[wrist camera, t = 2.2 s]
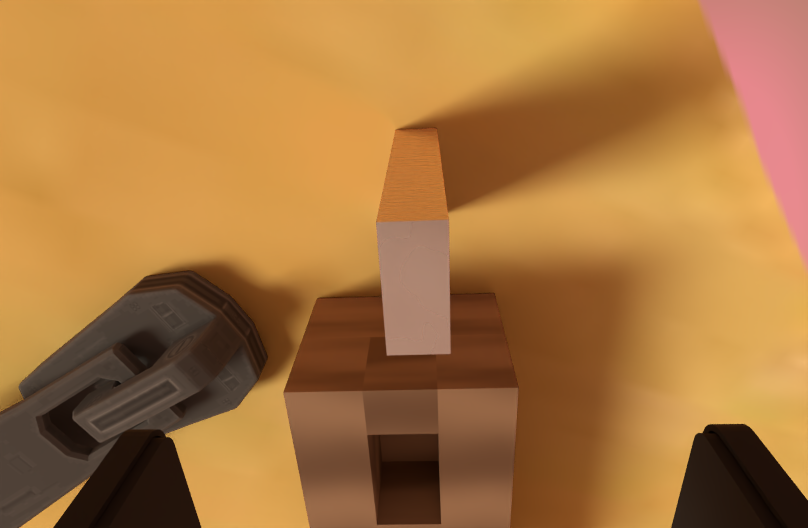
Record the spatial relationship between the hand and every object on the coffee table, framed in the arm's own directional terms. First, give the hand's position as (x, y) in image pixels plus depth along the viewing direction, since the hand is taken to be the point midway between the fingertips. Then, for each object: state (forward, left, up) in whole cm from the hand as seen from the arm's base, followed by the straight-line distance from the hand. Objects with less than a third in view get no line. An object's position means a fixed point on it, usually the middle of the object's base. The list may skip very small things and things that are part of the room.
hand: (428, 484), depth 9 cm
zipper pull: (+13, -22, -19) cm, 32 cm away
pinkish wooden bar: (0, 0, -19) cm, 19 cm away
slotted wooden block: (+18, -1, -19) cm, 26 cm away
